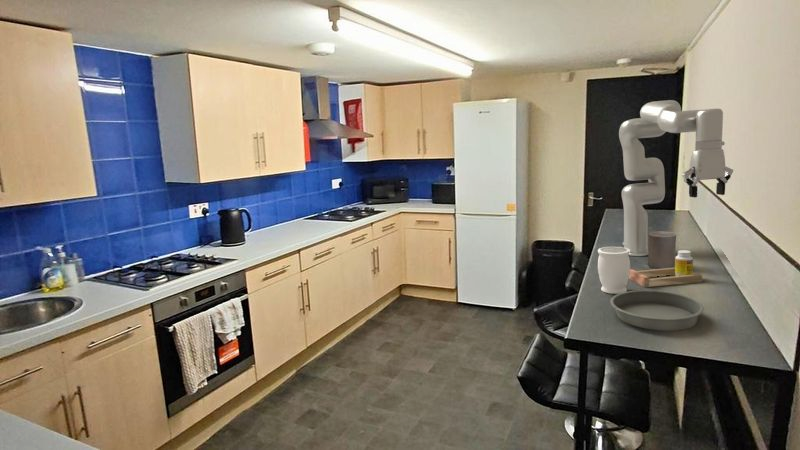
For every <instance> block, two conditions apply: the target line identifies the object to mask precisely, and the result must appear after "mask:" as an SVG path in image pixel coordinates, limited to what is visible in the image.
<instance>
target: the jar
mask: <svg viewBox="0 0 800 450" xmlns="http://www.w3.org/2000/svg"><path fill="white" fill-rule="evenodd" d="M597 254H598V258H597V259H598V261H597V272H598V277H599V281H600V283H601V285H602V286H601V288H600V289H601V291H602V292H603V293H607V294H610V295H611V294H612V295H617V294H620V293H623V292H628V289H627V288H626V286H627V285H628V282H629V273H630V269H631V261H630V257H629V255H628V254H630V250H629V249H627V248H624V246H623V247H622V246H604V247H599V248H598V249H597Z"/></svg>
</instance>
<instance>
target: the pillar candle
mask: <svg viewBox="0 0 800 450" xmlns="http://www.w3.org/2000/svg"><path fill="white" fill-rule="evenodd" d="M676 241H677V233H675V232H673V231H672V232H671V231H664V230H661V231H660V230H659V231H650V232H649V233H648V245H647V249H648V255H647V257H648V259H647V260H648V263H647V267H648V266H649V267H648V268H651V269H654V268H655V269H664V268H674V267H675V257H676Z"/></svg>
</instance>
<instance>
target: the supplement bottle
mask: <svg viewBox="0 0 800 450" xmlns="http://www.w3.org/2000/svg"><path fill="white" fill-rule="evenodd" d="M691 253H692V252H691V251H690V250H683V249H682V250H681V249H680V250H678V251H677V255H675V275H674V276H684V275H693V272H694V269H693V268H694V258H693V256H691Z"/></svg>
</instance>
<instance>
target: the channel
mask: <svg viewBox="0 0 800 450" xmlns="http://www.w3.org/2000/svg"><path fill="white" fill-rule="evenodd" d="M666 275H670V276H666ZM657 276H659V277H657ZM628 280H631V281H633V282H634V283H636V284H638V285H640V286H642V287H643V288H652V287H661V286H670V285H671V286H673V285H682V284H693V283H694V284H695V283H703V274H699V273H698V274H697V273H696V274H692V275H684V276H675V267H674V268H664V269H654V268H652V269H645V270H634V269H633V268H630V273H629V278H628Z"/></svg>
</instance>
